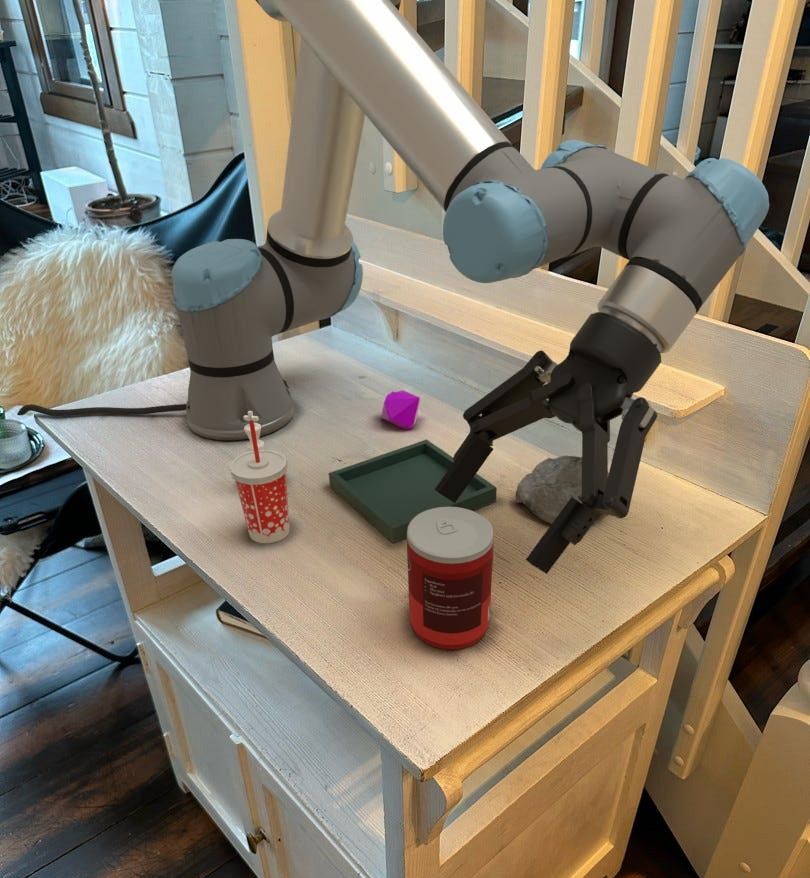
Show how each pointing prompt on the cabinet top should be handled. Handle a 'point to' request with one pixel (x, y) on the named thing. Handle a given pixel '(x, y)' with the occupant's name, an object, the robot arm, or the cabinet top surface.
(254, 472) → the beverage cup
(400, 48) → the robot arm
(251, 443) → the chess piece
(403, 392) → the crystal
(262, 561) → the cabinet top surface
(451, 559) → the canned food
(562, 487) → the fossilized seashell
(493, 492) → the tray
